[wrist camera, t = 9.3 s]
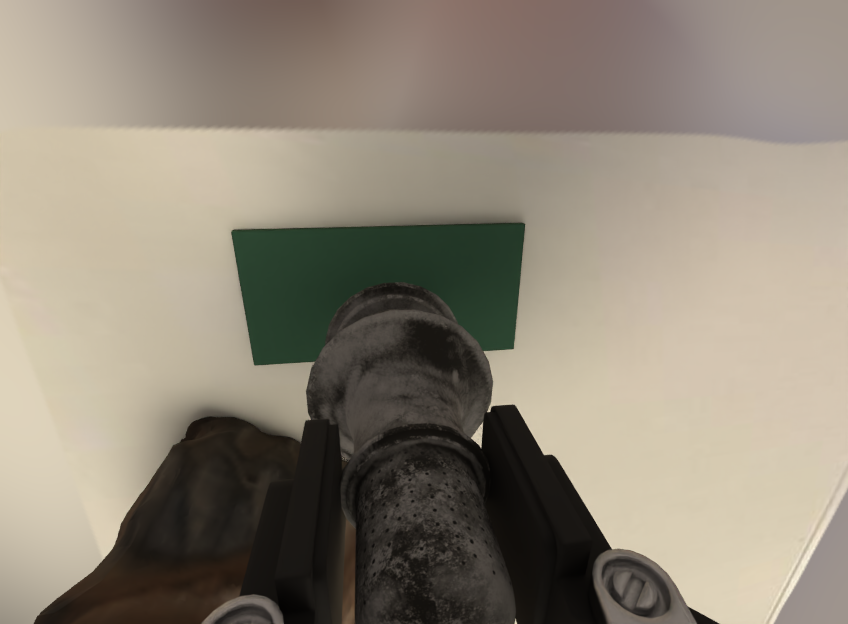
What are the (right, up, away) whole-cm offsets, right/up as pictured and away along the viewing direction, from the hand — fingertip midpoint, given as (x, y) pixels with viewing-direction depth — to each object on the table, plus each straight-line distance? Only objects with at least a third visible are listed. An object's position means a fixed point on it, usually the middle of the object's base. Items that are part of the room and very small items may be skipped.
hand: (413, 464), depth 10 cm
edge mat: (-2, +5, +11) cm, 12 cm away
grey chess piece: (-1, +2, +6) cm, 7 cm away
